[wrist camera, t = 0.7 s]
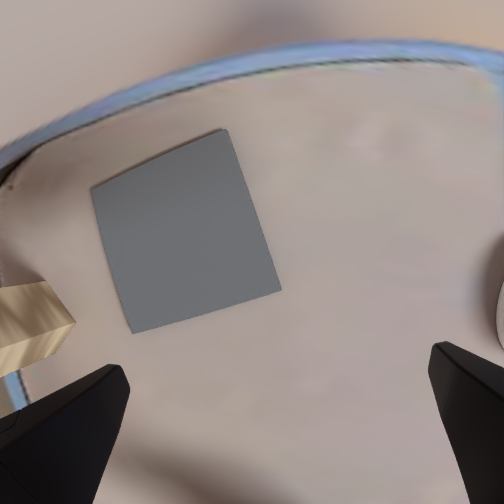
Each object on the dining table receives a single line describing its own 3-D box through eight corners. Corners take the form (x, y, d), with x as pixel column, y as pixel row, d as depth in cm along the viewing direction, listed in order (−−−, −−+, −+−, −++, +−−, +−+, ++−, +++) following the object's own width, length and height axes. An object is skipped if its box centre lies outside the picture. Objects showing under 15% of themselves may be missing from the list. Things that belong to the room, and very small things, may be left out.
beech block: (76, 322, 24) (-28, 358, 12) (54, 353, 25) (-37, 393, 13) (46, 281, 25) (-57, 296, 13) (27, 314, 25) (-65, 338, 13)
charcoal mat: (281, 288, 22) (281, 290, 21) (135, 332, 23) (132, 334, 23) (227, 131, 22) (225, 128, 21) (94, 191, 24) (90, 190, 23)
